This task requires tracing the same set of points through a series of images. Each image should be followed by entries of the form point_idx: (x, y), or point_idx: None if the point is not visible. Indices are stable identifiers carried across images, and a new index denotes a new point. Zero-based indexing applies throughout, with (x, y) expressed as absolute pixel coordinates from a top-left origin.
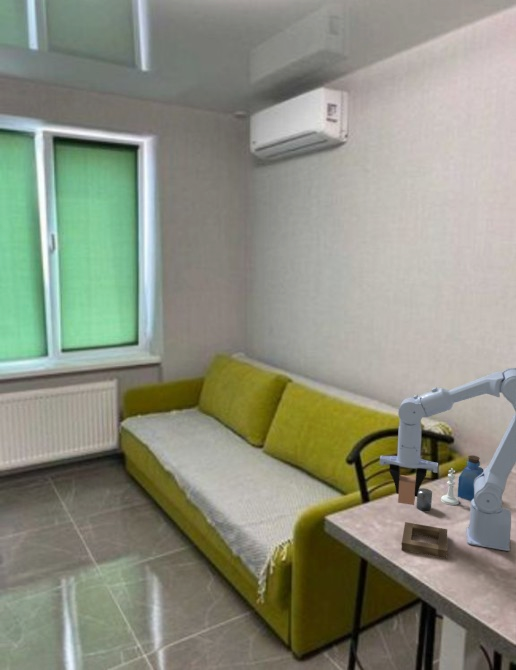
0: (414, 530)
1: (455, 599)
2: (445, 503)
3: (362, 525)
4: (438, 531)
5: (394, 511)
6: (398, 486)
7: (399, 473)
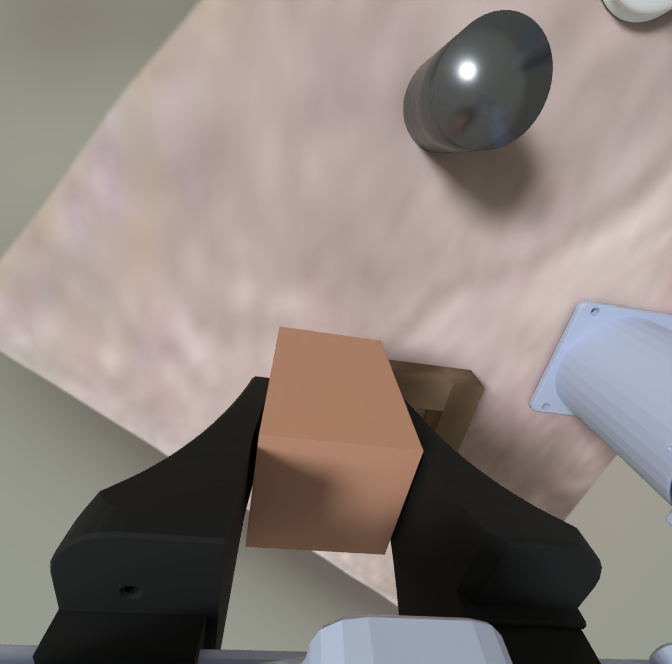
0: None
1: None
2: (605, 4)
3: (130, 355)
4: (442, 410)
5: (271, 186)
6: (252, 482)
7: (239, 514)
